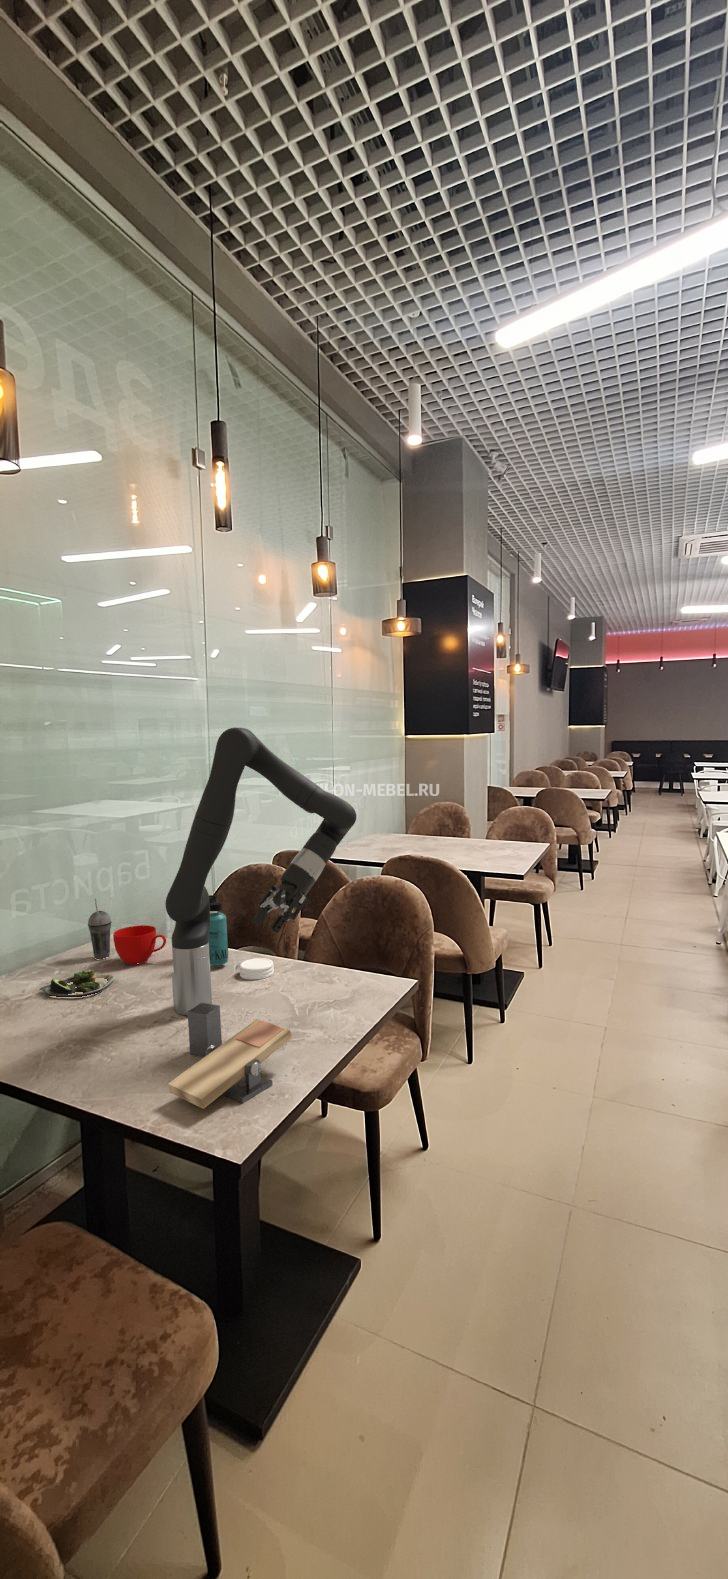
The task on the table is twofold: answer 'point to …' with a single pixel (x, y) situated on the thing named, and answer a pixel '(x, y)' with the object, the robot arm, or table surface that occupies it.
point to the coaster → (256, 968)
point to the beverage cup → (100, 933)
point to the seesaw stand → (246, 1081)
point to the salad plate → (77, 984)
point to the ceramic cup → (136, 943)
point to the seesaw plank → (228, 1063)
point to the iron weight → (204, 1028)
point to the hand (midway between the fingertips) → (263, 927)
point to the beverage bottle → (218, 936)
